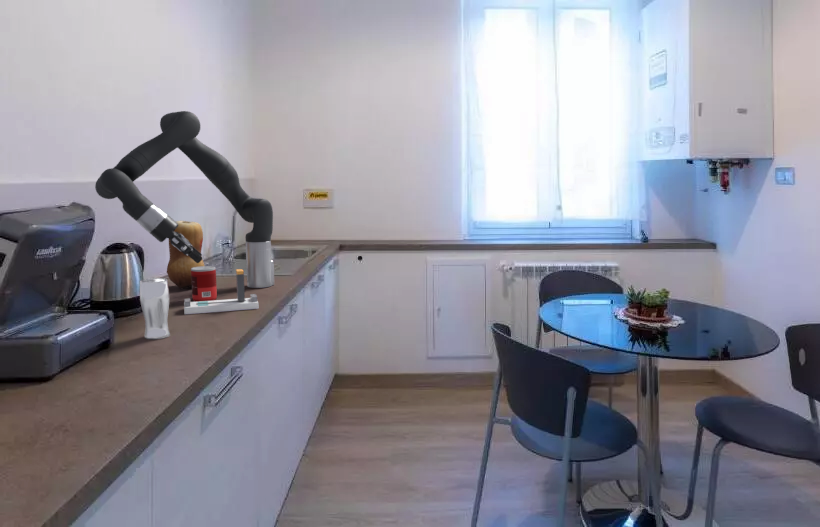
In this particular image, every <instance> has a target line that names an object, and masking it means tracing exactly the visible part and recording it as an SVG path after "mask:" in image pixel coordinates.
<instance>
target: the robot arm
mask: <svg viewBox="0 0 820 527" xmlns="http://www.w3.org/2000/svg"><path fill="white" fill-rule="evenodd" d="M159 121H160V122H159V125H160V126H159V127H160V130H161V133H160V134H158V135H156V136H154V137H153V138H151V139H149V140H147V141H145V142H143V143H141V144H140V145H137V147H135V148H134V149H132V150H131V151H129V152H128V153H127V154H126V155H124V156H123V157H122V158H121V159H120V160H119V161H118V163H117V164H116V165H115V166H113V167H112V168H107V169H105V170H104V171H103V172H102V173H101V174H100V176H99V177H98V178H97V180H96V182H95V185H94V187H95V192H96V194H97V195H98V196H100V197H101V198H102V199H105V200H106V199H107V200H111V199H116V198H117V199H118V200H119V201H120V202H121V203H122V209H123V211H124V212H125V213H126V214H127V215H129V216H130V217H131V218H132V219H133V220H134V221H136V222H137V223H138V224H139V226H141V227H142V228H143V229H144V230H145V231H146V232H148V233H149V234H150V235H151V236H152V237H154V238H155V240H157V241H158V242H160V243H163V242H164V241H166V239H168V240H169V239H170V240H171V241H170V243H171V244H172V245H173V246H174V247H176V248H177V249H178V250H179V251H181V252H183V254H184V255H187V256H189V257H190V258H192V259H193V260H194V261H195V262H196V263H199V262H200V261H201V260H202V259H203V257H201V256H203V254H202V252H201V253H200V252H199V251H197V250H196V249H195V248H194V247H193V246H192V244H191V243H190V242H189V241H188V240H187V239H186V238H185V237H184V236H183V235H182V234H181V233H180V234H179V233H178V232H174V230H175V229H176V228H177V227H178V223H177V222H176V220H174V219H173V218H172V217H171V216H170V215H169V214H168V213H166V212H165V211H164V210H163V209H161V208H160V207H158V206H157V205H155V204H154V203H153V202H152V201H151V200H150V199H149V198H147V197H146V196H145V195H144V194H142V192H141V191H140V190H139V188H138V186H137V185H136V184H135V183H134V182H135V181H136V180H138V179H139V178H140V177H141V176H143V175H144V174H146V172H148V171H149V170H150V169H152V167H153V166H154V165H156V164H157V163H158V162H160V160H162V159H163V158H164V157H166V156H168V155H169V154H171V152H173V151H175V150H176V149H178V150H180V152H182V153H183V154H184V155H185V156H186V157H187V158H188V159H189V160H190V161H191V162H192V163H193V164H194V165H195V166H196V167H197V168H198V169H199V170H200V171H201V173H203V175H204V176H205V178H207V179H208V180H209V181H210V182H211V184H212V185H213V186H214V187H216V189H218V191H219V193H221V194H222V195H223V196H224V197H225V198H226V199H227V201H228V202H230V204H231V205H232V207H233V208H234V209H235V211H236V212H237V214H238V215H239V216H240V217H241V219H242V220H243V221H245V222H247V223H252V224H253V225H252V230H251V231H248V233H246V234H245V254H246V255H245V256H246V257H245V258H246V280H247V281H246V285H247V287H248V288H252V289H259V288H260V289H261V288H262V289H263V288H269V287H272V286H275V265H274V263H275V262H274V260H272V242H271V241H272V236H273V230H274V229H273V227H274V225H273V224H274V212H273V206H272V204H271V202H270V201H269V200H268V199H266V198H258V197H257V198H255V197H254V198H253V197H251V196H250V195H249V194H248V193H247V192H246V191H245V190H244V188H242V186H241V183H240V178H239V175H238V172H237V170H236V169H235V167H234V166H233V165H232V164H231V163H230V162H229V160H228V159H227V158H226V157H225V156H223V154H221V153H219V152H218V151H217V150H214V149H213V148H211V147H209V146H208V145H207V144H204V143H203V142H202V141H200V140H199V138H197V136H198V135H199V133H200V131H201V122H200V119H199V118H198V116H197V115H196V114H195V113H193V112H191V111H188V110H187V111H186V110H183V111H182V110H181V111H175V112H174V111H173V112H168V113H166V114H163V116H162V117H161V118H160V120H159ZM192 247H193V248H192Z"/></svg>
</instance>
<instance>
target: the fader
mask: <svg viewBox="0 0 820 527" xmlns="http://www.w3.org/2000/svg"><path fill="white" fill-rule="evenodd" d="M243 269H244V268H243ZM243 269H241V268H239V269H238V268H237V269H235V277H236V279H235V280H236V299H237V300H238V302H241V301H245V298H246V297H245V293H246V292H245V274H244V272H245V271H244V270H243Z"/></svg>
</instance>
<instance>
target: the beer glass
mask: <svg viewBox="0 0 820 527" xmlns="http://www.w3.org/2000/svg"><path fill="white" fill-rule="evenodd" d="M168 279H169V278H165V277H153V278H151V277H150V278H145V279H141V280H140V281H139V298H140V299H139V300H140V305H141V306H140V307H141V310H142V313H143V318H144V321H145V323H144V324H145V330H144V339H146V340H161V339H166V338H168V337H170V336H171V332H170V329H169V325H168V317H169V308H170V287H169V281H168Z"/></svg>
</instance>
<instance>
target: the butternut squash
mask: <svg viewBox="0 0 820 527" xmlns="http://www.w3.org/2000/svg"><path fill="white" fill-rule="evenodd" d="M175 222H177V223H178V227H177V228H176V229H175V230H174V232H178V233H179V234H180V233H181V234H182V235H183V236H184V237H185V238H186V239H187V240H188V241H189V242H190V243H191V244H192V246H193V247H194V248H195V249H196V250H197V251H199V252H200V253H201V254H202V249H203V241H204V234H203V233H204V232H203V228H202V225H201V224H200V223H199V222H196V221H186V220H178V221H176V220H175ZM170 241H171V240H170V239H169V238H168V250H169V261H168V263H167V267H166V274H167V276H168V279H169V280H170V281H171V282H172V283H173V284H174V285H175V286H177V287H178V288H179V289H186V288H192V281H191V268H194V267H200V266H205V263H204V260H203V257H202V256H203V255H202V256H201V257H202V260H201V261H200V262H199V263H196V262H195V261H194V260H193V259H192V258H190V257H189V256H187V255H184V254H183V252H181V251H179V250H178V249H177V248H176V247H174V246H173V245H172V244H171V243H170ZM193 247H192V248H193Z"/></svg>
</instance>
